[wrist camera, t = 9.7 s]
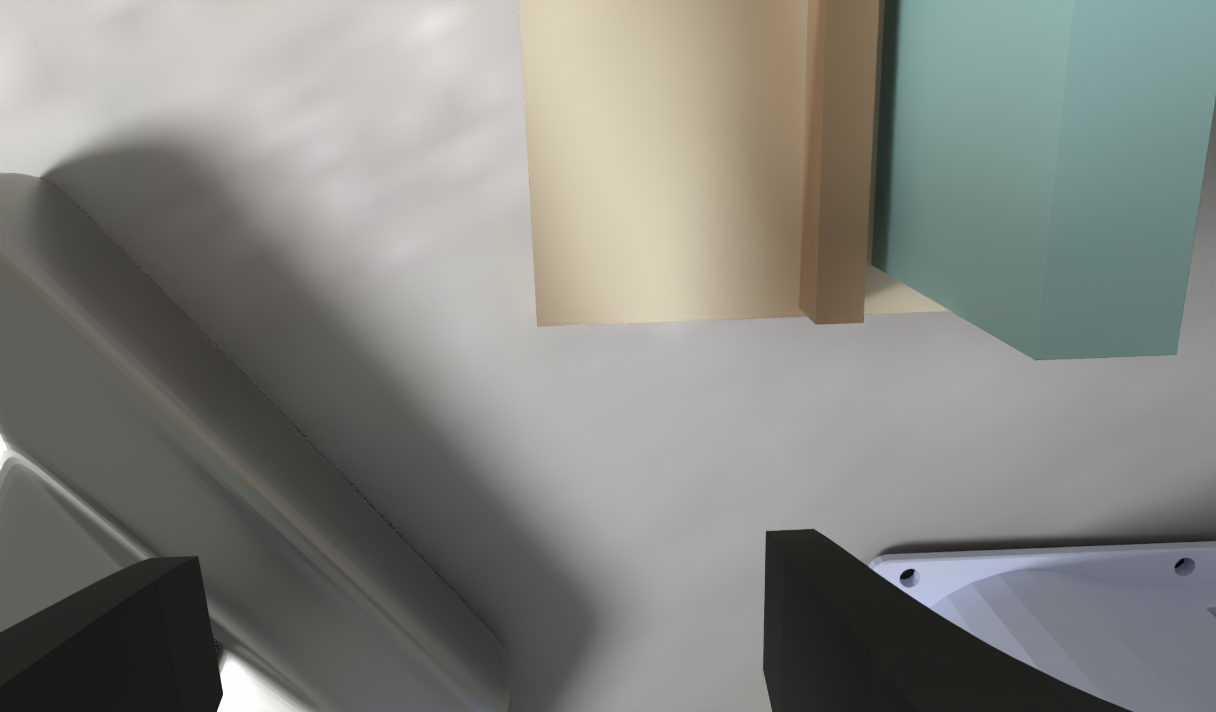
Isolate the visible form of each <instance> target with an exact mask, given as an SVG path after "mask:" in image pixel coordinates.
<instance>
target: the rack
mask: <svg viewBox="0 0 1216 712" xmlns="http://www.w3.org/2000/svg"><path fill="white" fill-rule="evenodd" d="M884 8H885V0H519V10H520V28H521V46H522V63H523V81H524V99H525V116H526V134H527V152H528V170H529V187H530V205H531V223H532V241H533V258H534V276H535V294H536V311H537V326H564V325H591V324H618V323H645V322H672V321H699V320H727V319H754V318H781V317H809V318H810V319H811V320H812V321H813V322H814V323H815V324H841V323H863V321H864V314H889V313H916V312H943V311H950V310H948V309H946V308H945V307H943V306H941V305H940V304H938V303H936V302H934V301H933V300H931V299H929V298H927V297H926V296H924V295H922V294H921V293H919V292H917V291H915V290H914V289H912V288H910V287H909V286H907V285H905V284H903V283H902V282H900V281H898V280H896V279H895V278H893V277H891V276H890V275H888V274H886V273H884V272H883V271H881V270H879V269H878V268H876V267H874V266H872V265H871V261H872V242H873V222H874V203H875V183H876V164H877V144H878V125H879V105H880V86H881V66H882V47H883V27H884Z"/></svg>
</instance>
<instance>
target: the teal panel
mask: <svg viewBox="0 0 1216 712" xmlns="http://www.w3.org/2000/svg"><path fill="white" fill-rule="evenodd" d="M1215 98H1216V0H885V8H884V27H883V47H882V66H881V86H880V105H879V125H878V144H877V164H876V183H875V203H874V222H873V242H872V261H871V265H872V266H874V267H876V268H878V269H879V270H881V271H883V272H884V273H886V274H888V275H890V276H891V277H893V278H895V279H896V280H898V281H900V282H902V283H903V284H905V285H907V286H909V287H910V288H912V289H914V290H915V291H917V292H919V293H921V294H922V295H924V296H926V297H927V298H929V299H931V300H933V301H934V302H936V303H938V304H940V305H941V306H943V307H945V308H946V309H948V310H950V311H952V312H953V313H955V314H957V315H958V316H960V317H962V318H964V319H965V320H967V321H969V322H971V323H972V324H974V325H976V326H977V327H979V328H981V329H983V330H984V331H986V332H988V333H989V334H991V335H993V336H995V337H996V338H998V339H1000V340H1001V341H1003V342H1005V343H1007V344H1008V345H1010V346H1012V347H1014V348H1015V349H1017V350H1019V351H1020V352H1022V353H1024V354H1026V355H1027V356H1029V357H1031V358H1032V359H1034V360H1055V359H1082V358H1108V357H1135V356H1162V355H1176V354H1177V347H1178V340H1179V334H1180V327H1181V321H1182V314H1183V308H1184V301H1185V295H1186V288H1187V282H1188V275H1189V268H1190V262H1191V255H1192V249H1193V242H1194V236H1195V229H1196V223H1197V216H1198V210H1199V203H1200V196H1201V190H1202V183H1203V177H1204V170H1205V164H1206V157H1207V151H1208V144H1209V138H1210V131H1211V124H1212V118H1213V111H1214V105H1215Z"/></svg>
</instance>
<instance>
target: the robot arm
mask: <svg viewBox="0 0 1216 712" xmlns="http://www.w3.org/2000/svg"><path fill="white" fill-rule="evenodd" d="M1183 558H1185V560H1184V562H1183V564H1182V565H1181V566H1179V567H1177V568H1174V567H1175V565H1176V563H1177V562H1178V561H1179V560H1180V559H1183ZM908 569H915V571H914V574H913V575H912V576H911V577H910V578H907V579H899V578H900V575H901V573H903V572H904V571H905V570H908ZM763 671H764V675H765V680H766V684H767V689H768V694H769V698H770V703H771V707H772V712H1216V541H1207V542H1182V543H1157V544H1132V545H1107V546H1083V547H1058V548H1033V549H1008V550H983V551H958V552H933V553H909V554H886V555H882V556H879V557H877V558H875V559H874V560H872V562H871V563H870V564H869V566H867V565H865V564H864V563H862V562H861V561H860V560H858V559H857V558H855V557H854V556H853V555H851V554H850V553H848V552H847V551H846V550H844V549H843V548H841V547H840V546H839V545H837V544H836V543H834V542H833V541H832V540H830V539H829V538H827V537H826V536H824V535H823V534H821V533H819V532H818V531H816V530H814V529H804V530H781V531H766V555H765V604H764V653H763ZM223 695H224V694H223V688H222V683H221V677H220V672H219V666H218V661H217V655H216V650H215V644H214V639H213V634H212V628H211V623H210V617H209V612H208V606H207V601H206V595H205V590H204V584H203V579H202V573H201V568H200V563H199V557H198V556H184V557H161V558H148V559H146V560H143V561H141V562H138V563H135V564H133V565H131V566H128V567H126V568H124V569H122V570H119V571H117V572H115V573H113V574H111V575H109V576H107V577H105V578H103V579H101V580H99V581H97V582H95V583H93V584H91V585H89V586H87V587H85V588H83V589H81V590H79V591H78V592H76V593H74V594H72V595H70V596H68V597H66V598H64V599H62V600H61V601H59V602H57V603H55V604H53V605H51V606H49V607H47V608H45V609H43V610H42V611H40V612H38V613H36V614H34V615H32V616H30V617H28V618H26V619H25V620H23V621H21V622H19V623H17V624H15V625H13V626H11V627H9V628H8V629H6V630H4V631H2V632H0V712H217V711H218V708H219V705H220V703H221V700H222V697H223Z"/></svg>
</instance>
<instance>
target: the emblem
mask: <svg viewBox="0 0 1216 712" xmlns="http://www.w3.org/2000/svg"><path fill="white" fill-rule="evenodd" d="M184 556H198V557H199V563H200V568H201V573H202V579H203V584H204V590H205V595H206V601H207V606H208V612H209V617H210V623H211V628H212V634H213V638H214V639H216V640H217V641H219V642H220V646H219V649H218V651H217V654H216V655H217V661H218V666H219V672H220V677H221V683H222V688H223V694H224V695H223V697H222V700H221V703H220V705H219V708H218V711H217V712H507V711H508V707H509V702H510V696H511V669H510V664H509V660H508V657H507V655H506V653H505V651H504V649H503V647H502V646H501V644H500V643H499V641H498V640H497V639H496V637H495V636H494V635H493V634H492V633H491V631H490V630H489V629H488V628H487V627H486V626H485V625H484V624H483V622H482V621H481V620H480V619H479V618H478V617H477V616H476V615H475V614H474V613H473V612H472V611H471V610H470V609H469V607H468V606H467V605H466V604H465V603H464V602H463V601H462V600H461V599H460V598H459V597H458V596H457V595H456V594H455V593H454V592H453V591H452V590H451V589H450V588H449V587H448V586H447V585H446V583H445V582H444V581H443V580H442V579H441V578H440V577H439V576H438V575H437V574H436V573H435V572H434V571H433V570H432V569H431V568H430V567H429V566H428V565H427V564H426V563H425V562H424V561H423V560H422V559H421V558H420V557H419V556H418V554H417V553H416V552H415V551H414V550H413V549H412V548H411V547H410V546H409V545H408V544H407V543H406V542H405V541H404V540H403V539H402V538H401V537H400V536H399V535H398V534H397V533H396V532H395V531H394V530H393V529H392V528H391V527H390V525H389V524H388V523H387V522H386V521H385V520H384V519H383V518H382V517H381V516H380V515H379V514H378V513H377V512H376V511H375V510H374V509H373V508H372V507H371V506H370V505H369V504H368V503H367V502H366V501H365V500H364V499H363V498H362V496H361V495H360V494H359V493H358V492H357V491H356V490H355V489H354V488H353V487H352V486H351V485H350V484H349V483H348V482H347V481H346V480H345V479H344V478H343V477H342V476H341V475H340V474H339V473H338V472H337V471H336V470H335V469H334V467H333V466H332V465H331V464H330V463H329V462H328V461H327V460H326V459H325V458H324V457H323V456H322V455H321V454H320V453H319V452H318V451H317V450H316V449H315V448H314V447H313V446H312V445H311V444H310V443H309V442H308V441H307V440H306V439H305V437H304V436H303V435H302V434H301V433H300V432H299V431H298V430H297V429H296V428H295V427H294V426H293V425H292V424H291V423H290V422H289V421H288V420H287V419H286V418H285V417H284V416H283V415H282V414H281V413H280V412H279V411H278V409H277V408H276V407H275V406H274V405H273V404H272V403H271V402H270V401H269V400H268V399H267V398H266V397H265V396H264V395H263V394H262V393H261V392H260V391H259V390H258V389H257V388H256V387H255V386H254V385H253V384H252V383H251V381H250V380H249V379H248V378H247V377H246V376H245V375H244V374H243V373H242V372H241V371H240V370H239V369H238V368H237V367H236V366H235V365H234V364H233V363H232V362H231V361H230V360H229V359H228V358H227V357H226V356H225V355H224V354H223V353H222V352H221V350H220V349H219V348H218V347H217V346H216V345H215V344H214V343H213V342H212V341H211V340H210V339H209V338H208V337H207V336H206V335H205V334H204V333H203V332H202V331H201V330H200V329H199V328H198V327H197V326H196V325H195V324H194V323H193V322H192V321H191V320H190V319H189V318H188V317H187V316H186V315H185V314H184V313H183V312H182V311H181V310H180V309H179V307H178V306H177V305H176V304H175V303H174V302H173V301H172V300H171V299H170V298H169V297H168V296H167V295H166V294H165V293H164V292H163V291H162V290H161V289H160V288H159V287H158V286H157V285H156V284H155V283H154V282H153V281H152V280H151V279H150V278H149V277H148V276H147V275H146V274H145V273H144V272H143V271H142V270H141V269H140V268H139V267H138V266H137V265H136V264H135V263H134V262H133V261H132V260H131V259H130V257H129V256H128V255H127V254H126V253H125V252H124V251H123V250H122V249H121V248H120V247H119V246H118V245H117V244H116V243H115V242H114V241H113V240H112V239H111V238H110V237H109V236H108V235H107V234H106V233H105V232H104V231H103V230H102V229H101V228H100V227H99V226H98V225H97V224H96V223H95V222H94V221H93V220H92V219H91V218H90V217H89V216H88V215H87V214H86V213H85V212H84V211H83V210H82V209H81V208H79V207H78V206H77V205H76V204H75V203H74V202H73V201H72V200H71V199H70V198H69V197H68V196H67V195H65V194H64V193H63V192H62V191H61V190H59V189H58V188H57V187H56V186H54V185H53V184H51V183H49V182H48V181H45V180H43V179H40V178H37V177H34V176H30V175H26V174H17V173H0V632H2V631H4V630H6V629H8V628H9V627H11V626H13V625H15V624H17V623H19V622H21V621H23V620H25V619H26V618H28V617H30V616H32V615H34V614H36V613H38V612H40V611H42V610H43V609H45V608H47V607H49V606H51V605H53V604H55V603H57V602H59V601H61V600H62V599H64V598H66V597H68V596H70V595H72V594H74V593H76V592H78V591H79V590H81V589H83V588H85V587H87V586H89V585H91V584H93V583H95V582H97V581H99V580H101V579H103V578H105V577H107V576H109V575H111V574H113V573H115V572H117V571H119V570H122V569H124V568H126V567H128V566H131V565H133V564H135V563H138V562H141V561H143V560H146V559H148V558H161V557H184Z"/></svg>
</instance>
